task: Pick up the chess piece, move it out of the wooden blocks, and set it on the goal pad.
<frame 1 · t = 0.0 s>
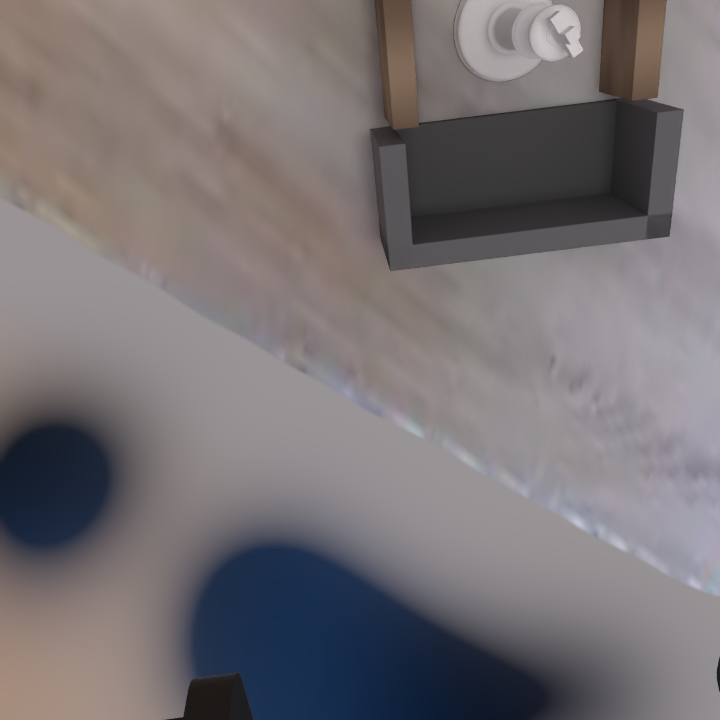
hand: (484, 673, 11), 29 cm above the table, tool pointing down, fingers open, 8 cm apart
trap pit: (504, 171, 37), on the table
chess piece: (502, 27, 34), on the table
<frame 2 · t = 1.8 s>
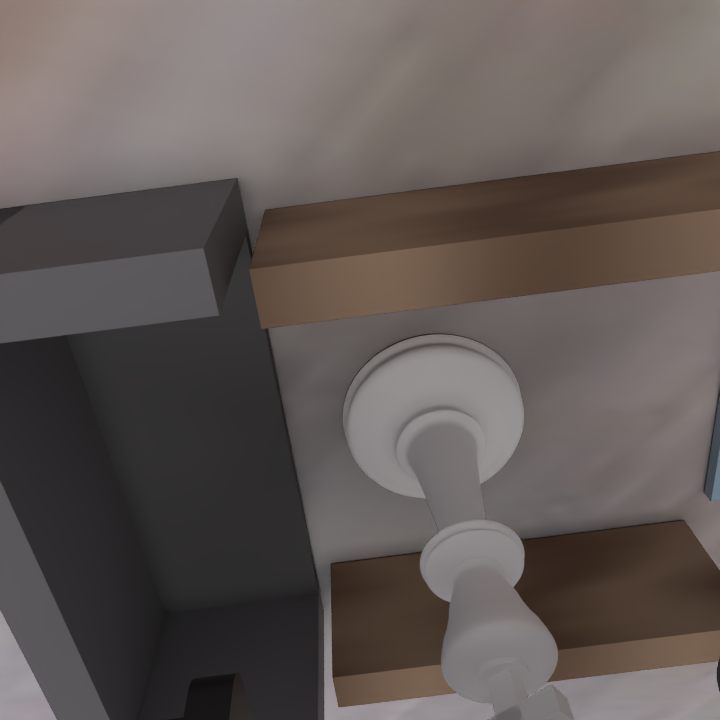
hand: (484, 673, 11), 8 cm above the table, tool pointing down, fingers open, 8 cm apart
trap pit: (180, 446, 19), on the table
wooden blocks: (504, 405, 19), on the table
chess piece: (430, 410, 19), on the table
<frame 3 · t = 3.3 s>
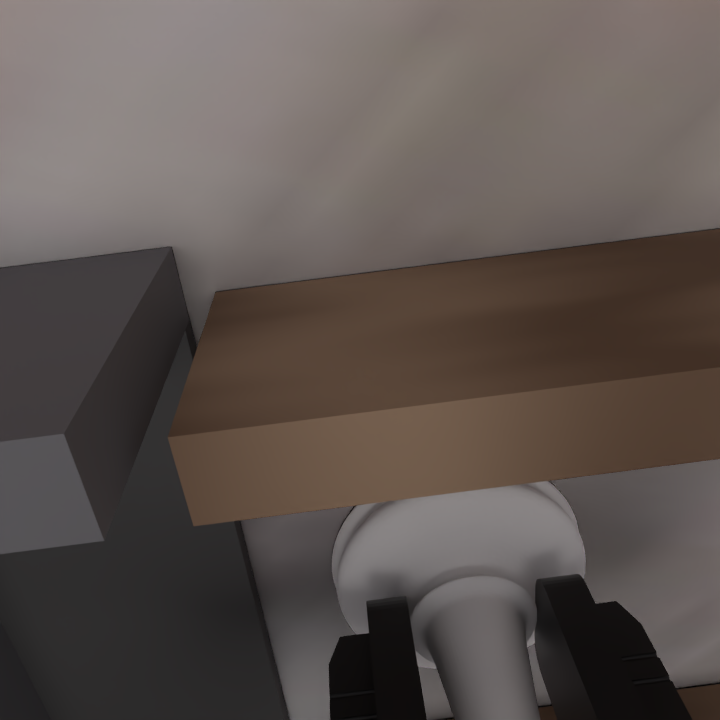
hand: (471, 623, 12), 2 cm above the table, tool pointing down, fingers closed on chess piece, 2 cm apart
trap pit: (104, 604, 13), on the table
wooden blocks: (555, 545, 13), on the table
chess piece: (453, 550, 14), on the table, touching gripper
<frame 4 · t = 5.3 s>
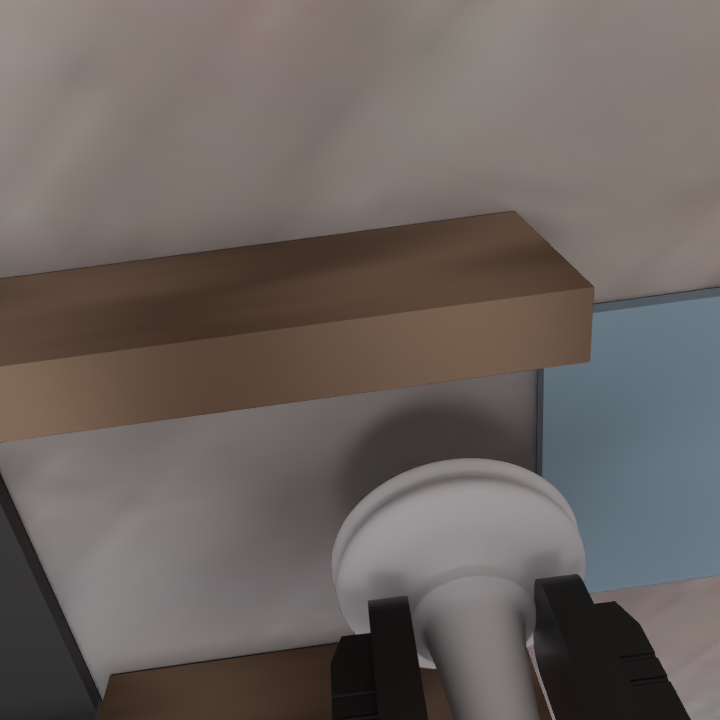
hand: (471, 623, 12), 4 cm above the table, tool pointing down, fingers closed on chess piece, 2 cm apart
wooden blocks: (283, 501, 16), on the table
goal pad: (703, 443, 16), on the table
chess piece: (453, 550, 14), point 2 cm above the table, touching gripper
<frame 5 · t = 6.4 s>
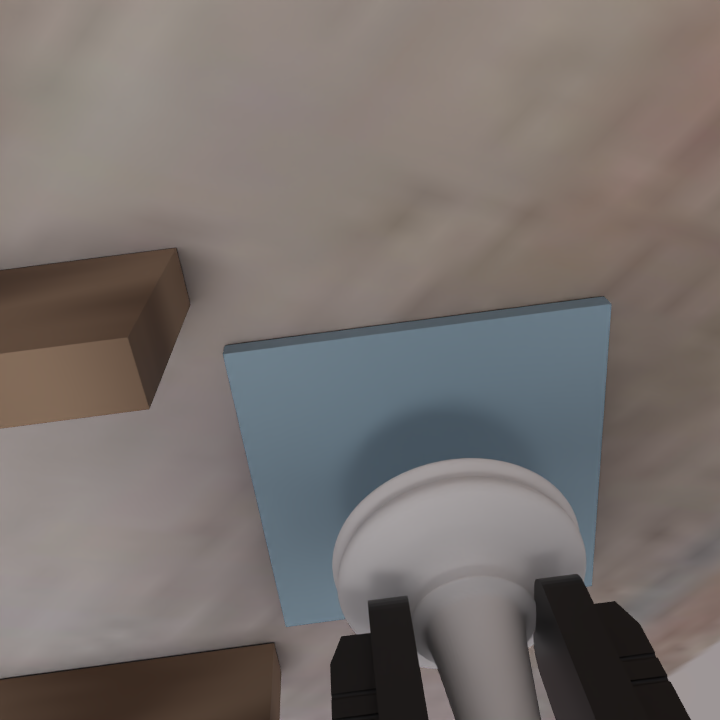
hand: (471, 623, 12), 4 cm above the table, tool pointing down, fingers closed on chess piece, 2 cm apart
wooden blocks: (6, 529, 16), on the table
goal pad: (427, 473, 16), on the table
chess piece: (454, 550, 14), point 3 cm above the table, touching gripper
when the fingers open (3 cm above the table, at t = 7.3 s): chess piece drops 1 cm, resting on goal pad.
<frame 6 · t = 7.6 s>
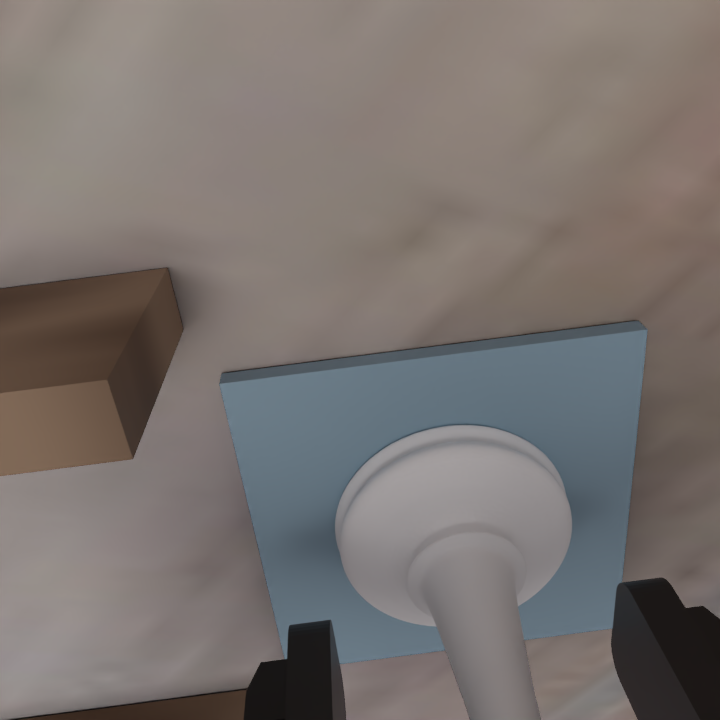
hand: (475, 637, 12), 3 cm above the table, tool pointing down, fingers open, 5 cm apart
goal pad: (441, 509, 15), on the table
chess piece: (449, 514, 15), resting on goal pad
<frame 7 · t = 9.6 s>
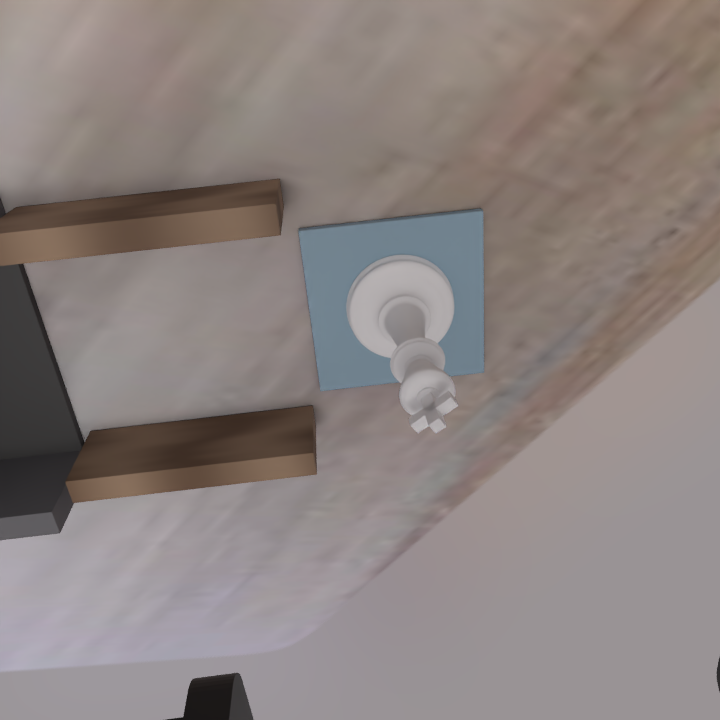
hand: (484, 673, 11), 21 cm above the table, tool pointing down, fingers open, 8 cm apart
wooden blocks: (180, 327, 31), on the table
goal pad: (396, 302, 31), on the table
chess piece: (399, 304, 31), resting on goal pad
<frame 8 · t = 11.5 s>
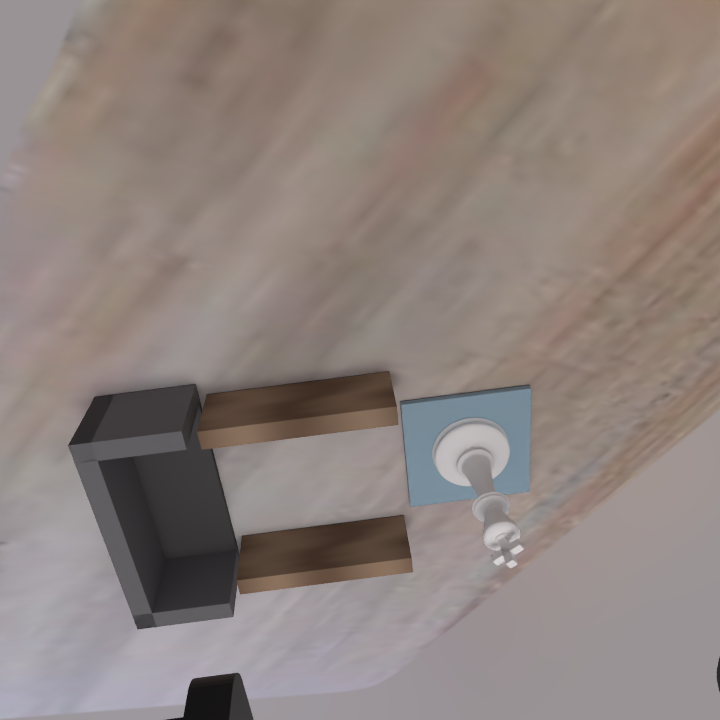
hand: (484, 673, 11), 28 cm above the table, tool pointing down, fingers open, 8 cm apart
trap pit: (173, 484, 43), on the table
wooden blocks: (312, 466, 43), on the table
goal pad: (466, 446, 43), on the table
chess piece: (469, 447, 43), resting on goal pad
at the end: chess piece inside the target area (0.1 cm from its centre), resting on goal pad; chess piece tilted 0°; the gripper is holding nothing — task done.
